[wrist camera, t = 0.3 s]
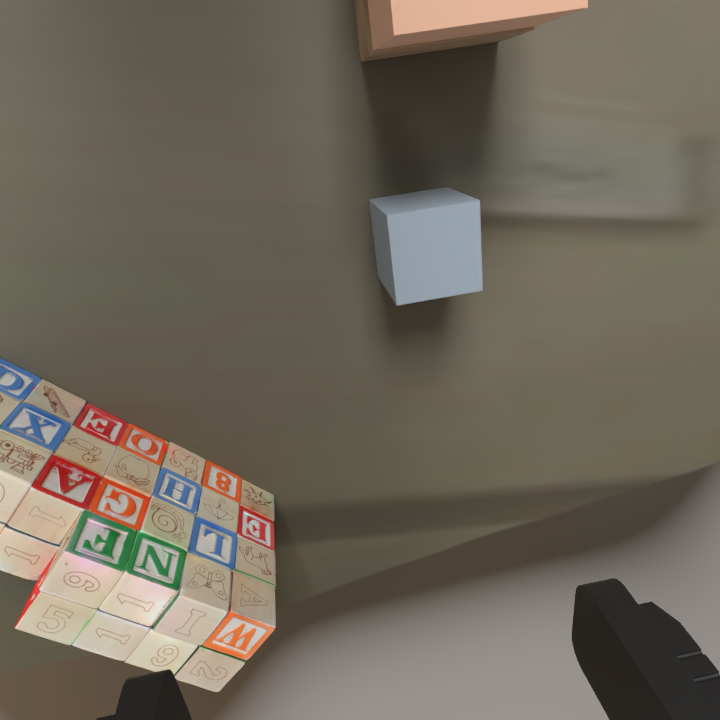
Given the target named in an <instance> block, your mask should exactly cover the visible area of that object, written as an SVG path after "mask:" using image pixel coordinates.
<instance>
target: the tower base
mask: <svg viewBox="0 0 720 720" xmlns="http://www.w3.org/2000/svg"><path fill="white" fill-rule="evenodd" d="M353 2H354V11H355V19H356V27H357V36H358V44H359V53H360V61H361V62H363V61H370V60H377V59H384V58H391V57H398V56H405V55H411V54H418V53H425V52H432V51H439V50H446V49H453V48H459V47H466V46H473V45H480V44H487V43H494V42H499V41H502V40H505V39H508V38H511V37H514V36H517V35H520V34H523V33H526V32H528V31H531V30H534V29H535V26H534V27H528V28H521V29H514V30H507V31H500V32H493V33H486V34H480V35H473V36H466V37H459V38H452V39H445V40H438V41H431V42H425V43H418V44H411V45H404V46H397V47H390V48H383V49H376V50H373V46H372V36H371V27H370V18H369V9H368V0H353Z"/></svg>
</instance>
